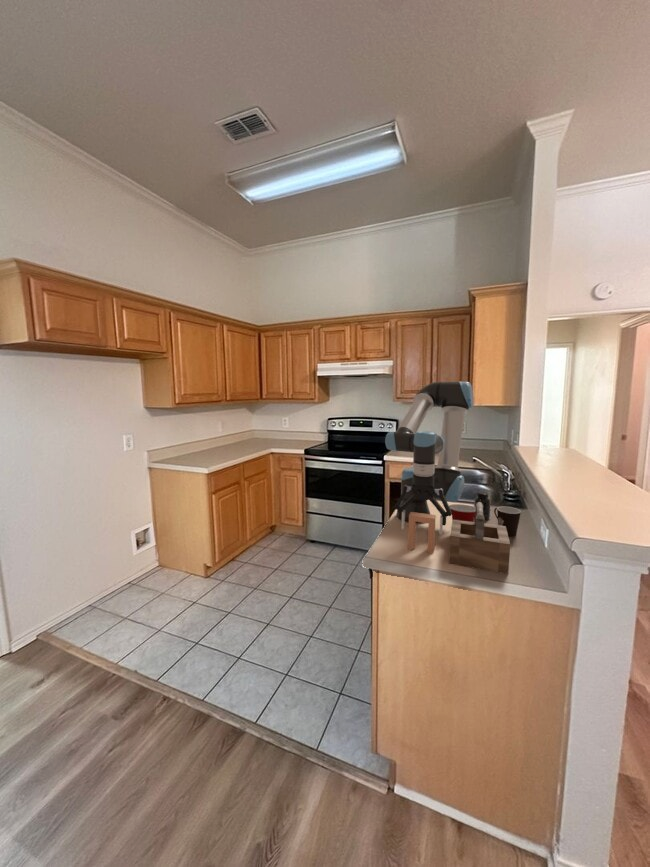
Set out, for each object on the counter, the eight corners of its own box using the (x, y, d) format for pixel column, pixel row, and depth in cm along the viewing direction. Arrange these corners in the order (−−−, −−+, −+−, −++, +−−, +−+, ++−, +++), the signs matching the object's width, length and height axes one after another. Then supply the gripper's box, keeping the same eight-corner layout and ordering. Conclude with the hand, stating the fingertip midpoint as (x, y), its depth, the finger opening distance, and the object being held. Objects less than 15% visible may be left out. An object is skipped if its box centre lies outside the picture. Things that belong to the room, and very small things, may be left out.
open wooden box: (451, 544, 135) (453, 499, 133) (504, 552, 128) (507, 504, 126) (449, 563, 120) (451, 512, 118) (508, 573, 113) (511, 520, 111)
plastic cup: (475, 531, 147) (476, 503, 146) (477, 542, 137) (479, 512, 135) (447, 528, 151) (449, 501, 149) (447, 538, 140) (449, 509, 139)
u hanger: (409, 544, 135) (410, 511, 133) (434, 548, 132) (435, 515, 130) (408, 549, 131) (408, 515, 130) (433, 553, 128) (434, 518, 126)
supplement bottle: (470, 515, 166) (471, 490, 164) (484, 515, 166) (485, 490, 165) (478, 520, 159) (479, 495, 158) (492, 520, 160) (494, 494, 158)
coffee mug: (522, 538, 140) (524, 514, 139) (498, 536, 142) (500, 512, 141) (513, 527, 151) (514, 504, 150) (491, 525, 153) (492, 503, 152)
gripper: (387, 473, 129) (386, 529, 132) (460, 479, 120) (457, 539, 122) (391, 469, 136) (390, 522, 139) (460, 475, 127) (458, 531, 129)
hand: (421, 530), depth 131 cm, fingers open, 13 cm apart
